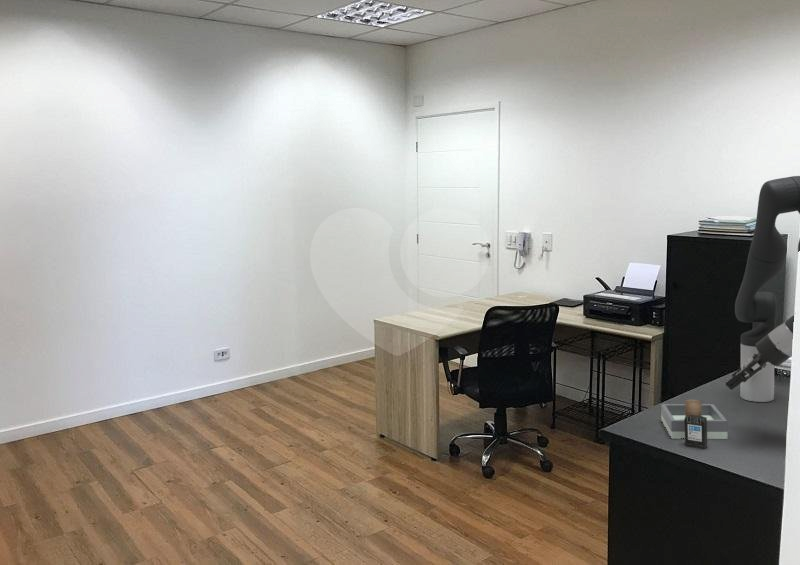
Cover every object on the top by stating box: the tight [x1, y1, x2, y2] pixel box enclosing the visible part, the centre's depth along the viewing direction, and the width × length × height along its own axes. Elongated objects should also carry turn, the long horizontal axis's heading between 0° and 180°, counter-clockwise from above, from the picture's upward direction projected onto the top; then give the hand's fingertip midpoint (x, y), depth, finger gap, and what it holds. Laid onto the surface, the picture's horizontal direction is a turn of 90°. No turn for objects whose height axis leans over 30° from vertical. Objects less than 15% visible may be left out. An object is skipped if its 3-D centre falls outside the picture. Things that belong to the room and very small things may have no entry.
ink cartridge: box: [684, 415, 708, 450], centre depth 174 cm, size 5×2×8 cm, turn 51°
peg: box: [684, 399, 702, 417], centre depth 185 cm, size 4×4×8 cm
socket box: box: [660, 403, 728, 440], centre depth 186 cm, size 14×14×5 cm
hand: (731, 382), depth 178 cm, fingers open, 8 cm apart
